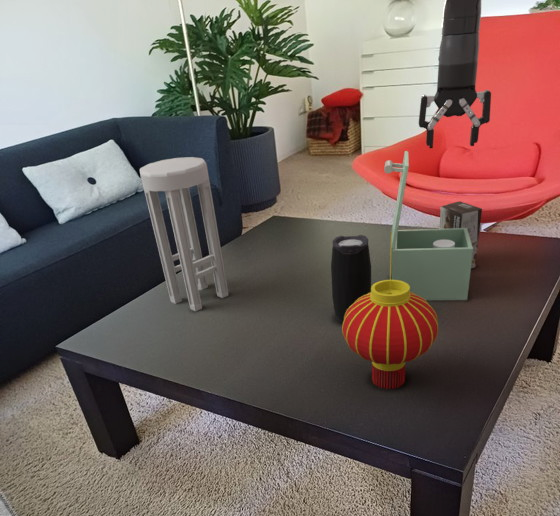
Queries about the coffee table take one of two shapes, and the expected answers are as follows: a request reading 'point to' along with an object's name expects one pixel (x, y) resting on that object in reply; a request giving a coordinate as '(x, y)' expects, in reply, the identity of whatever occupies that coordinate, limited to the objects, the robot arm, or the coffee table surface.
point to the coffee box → (463, 222)
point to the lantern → (390, 327)
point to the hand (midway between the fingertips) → (451, 146)
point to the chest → (433, 263)
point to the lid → (404, 171)
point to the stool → (184, 226)
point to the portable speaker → (349, 272)
